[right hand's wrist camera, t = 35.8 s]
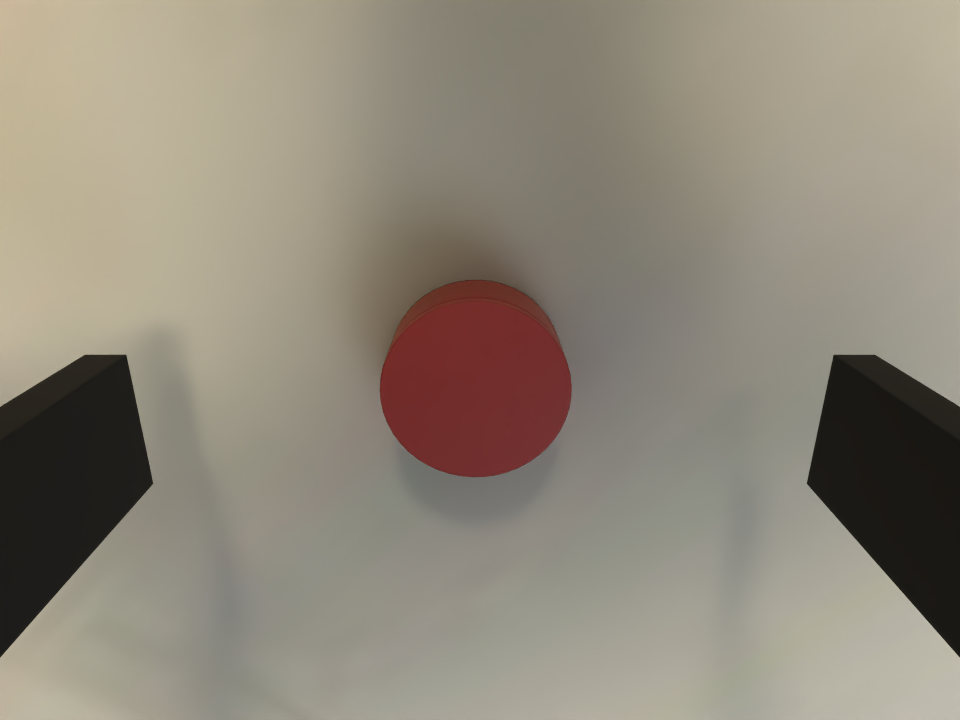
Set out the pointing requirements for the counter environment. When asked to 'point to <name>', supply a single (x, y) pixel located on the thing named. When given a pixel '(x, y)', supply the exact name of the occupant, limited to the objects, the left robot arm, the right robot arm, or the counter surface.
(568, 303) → the counter surface
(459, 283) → the cap
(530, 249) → the counter surface
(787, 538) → the counter surface
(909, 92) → the counter surface
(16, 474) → the right robot arm
